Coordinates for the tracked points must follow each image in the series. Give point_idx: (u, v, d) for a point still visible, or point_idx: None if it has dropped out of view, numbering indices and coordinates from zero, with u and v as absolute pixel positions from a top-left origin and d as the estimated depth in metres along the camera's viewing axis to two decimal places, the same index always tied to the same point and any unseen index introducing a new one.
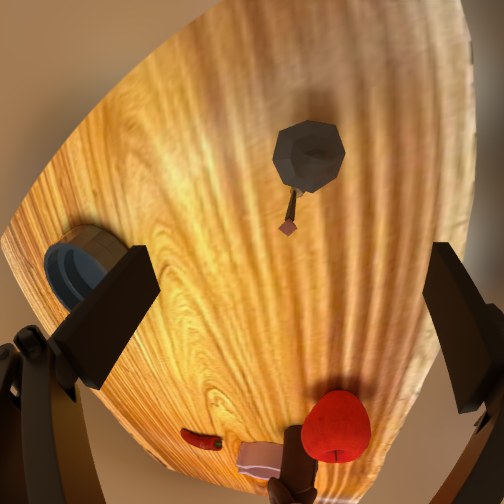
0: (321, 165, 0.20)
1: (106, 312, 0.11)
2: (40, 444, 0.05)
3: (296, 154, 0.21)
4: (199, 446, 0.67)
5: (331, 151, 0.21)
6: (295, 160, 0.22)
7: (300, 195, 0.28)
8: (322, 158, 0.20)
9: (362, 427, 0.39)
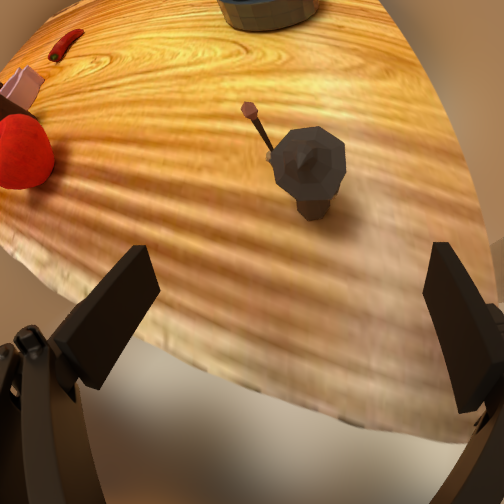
0: (300, 152, 0.19)
1: (106, 312, 0.11)
2: (40, 444, 0.05)
3: (317, 144, 0.20)
4: (60, 40, 0.51)
5: (307, 179, 0.20)
6: (311, 141, 0.20)
7: (267, 157, 0.26)
8: (307, 156, 0.19)
9: (7, 173, 0.32)
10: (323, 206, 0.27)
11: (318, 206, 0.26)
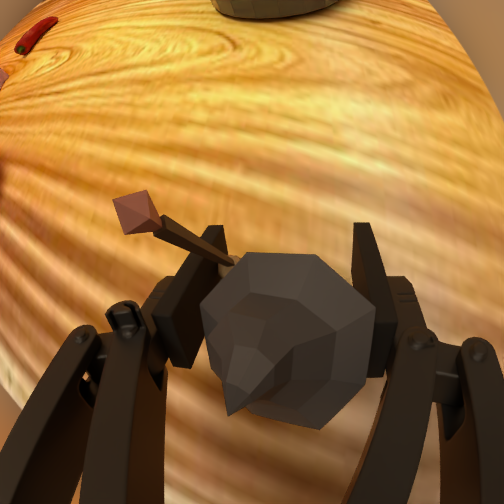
0: (234, 384, 0.06)
1: (198, 287, 0.12)
2: (112, 438, 0.06)
3: (300, 323, 0.08)
4: (30, 30, 0.38)
5: (265, 403, 0.08)
6: (286, 313, 0.08)
7: (220, 271, 0.14)
8: (252, 396, 0.06)
9: None
10: None
11: None
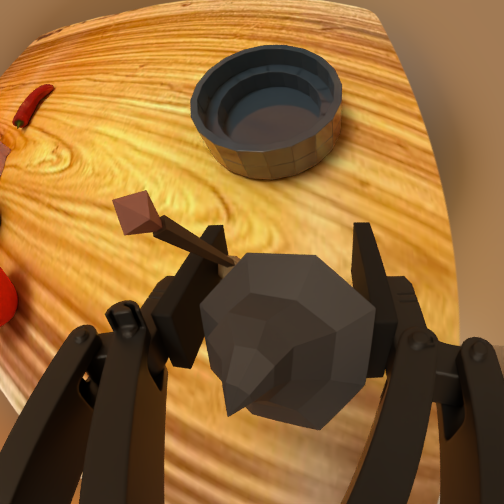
0: (234, 384, 0.06)
1: (198, 287, 0.12)
2: (112, 438, 0.06)
3: (300, 324, 0.08)
4: (26, 100, 0.45)
5: (265, 403, 0.08)
6: (286, 313, 0.08)
7: (220, 272, 0.14)
8: (251, 396, 0.06)
9: None
10: None
11: None
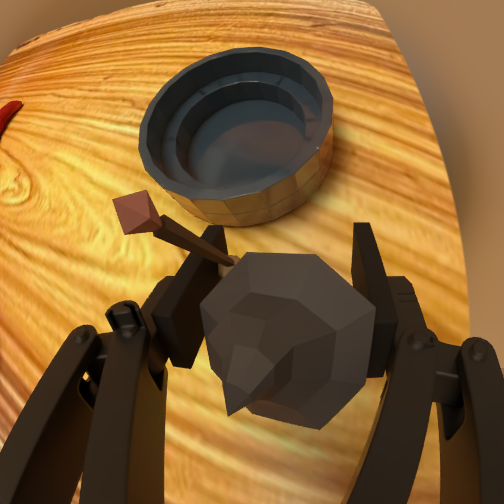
0: (234, 384, 0.06)
1: (198, 287, 0.12)
2: (112, 438, 0.06)
3: (300, 323, 0.08)
4: None
5: (266, 403, 0.08)
6: (286, 313, 0.08)
7: (220, 271, 0.14)
8: (252, 396, 0.06)
9: None
10: None
11: None
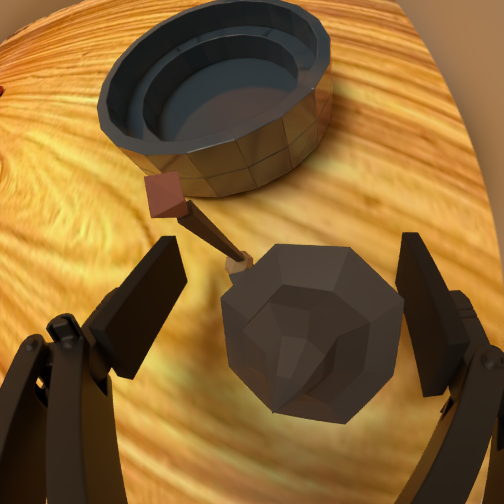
0: (286, 377, 0.06)
1: (141, 300, 0.11)
2: (66, 439, 0.06)
3: (339, 314, 0.08)
4: None
5: (298, 398, 0.08)
6: (325, 304, 0.08)
7: (228, 267, 0.13)
8: (303, 388, 0.06)
9: None
10: None
11: None
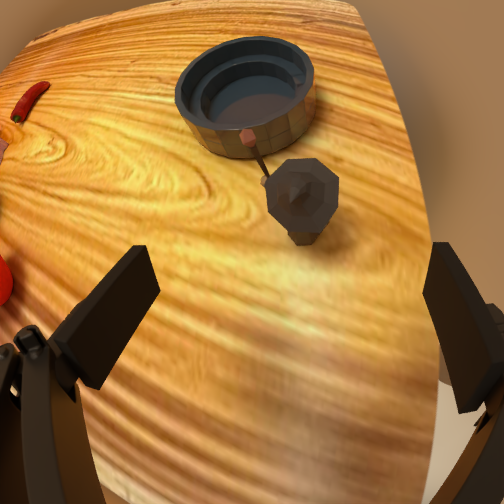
0: (294, 187, 0.20)
1: (106, 312, 0.11)
2: (40, 444, 0.05)
3: (311, 177, 0.21)
4: (24, 96, 0.46)
5: (299, 212, 0.21)
6: (306, 174, 0.21)
7: (262, 181, 0.27)
8: (300, 191, 0.20)
9: None
10: (313, 233, 0.28)
11: (308, 234, 0.27)
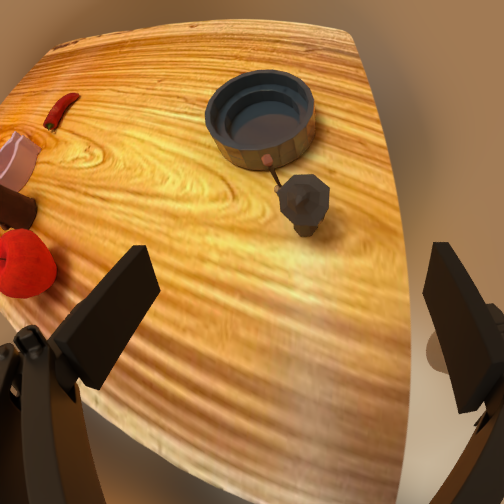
0: (298, 195, 0.30)
1: (106, 312, 0.11)
2: (40, 444, 0.05)
3: (310, 188, 0.31)
4: (55, 106, 0.57)
5: (302, 211, 0.31)
6: (307, 185, 0.31)
7: (275, 189, 0.37)
8: (302, 198, 0.30)
9: (17, 293, 0.38)
10: (312, 227, 0.38)
11: (308, 227, 0.37)
